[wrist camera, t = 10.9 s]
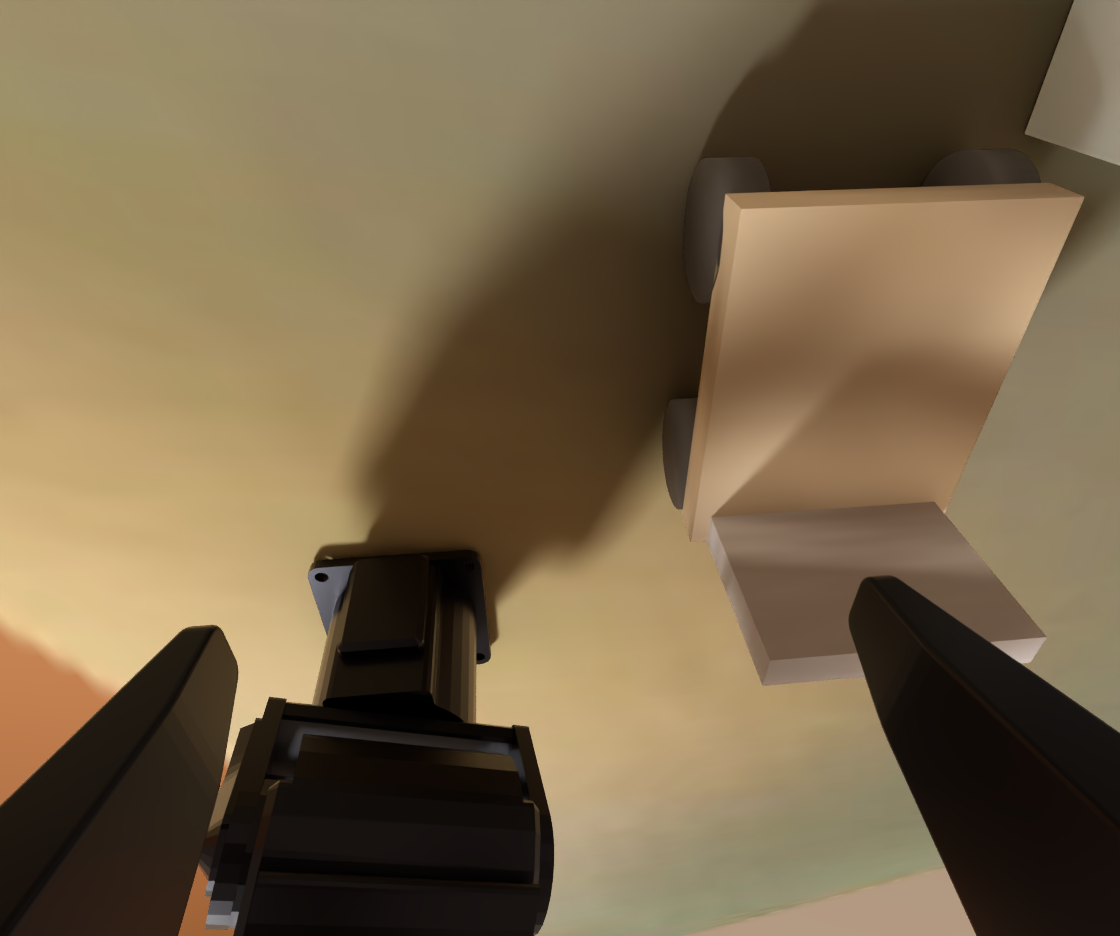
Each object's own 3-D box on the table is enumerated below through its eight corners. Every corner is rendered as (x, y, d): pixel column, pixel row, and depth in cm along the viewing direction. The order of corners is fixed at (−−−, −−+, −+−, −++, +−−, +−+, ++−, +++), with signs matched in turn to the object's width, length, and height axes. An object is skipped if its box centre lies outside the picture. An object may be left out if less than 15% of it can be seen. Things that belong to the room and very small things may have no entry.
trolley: (870, 452, 25) (1042, 670, 18) (659, 465, 25) (740, 697, 17) (976, 135, 19) (1322, 262, 11) (692, 143, 18) (848, 282, 10)
